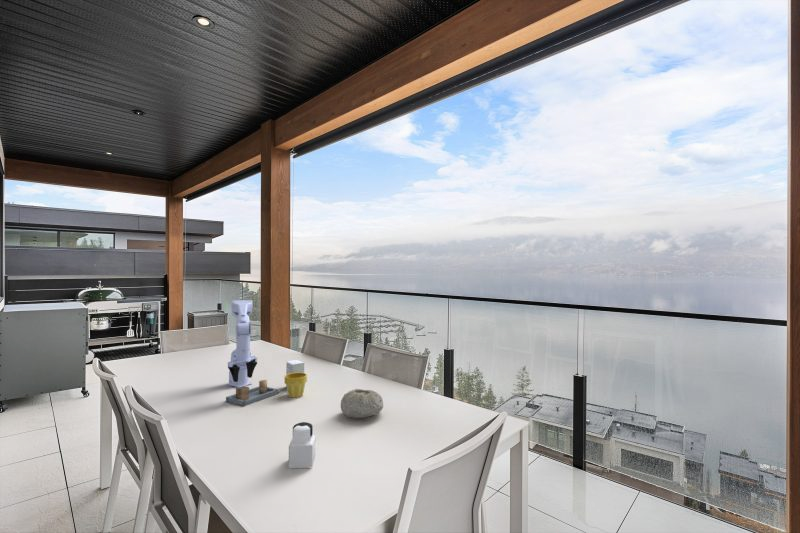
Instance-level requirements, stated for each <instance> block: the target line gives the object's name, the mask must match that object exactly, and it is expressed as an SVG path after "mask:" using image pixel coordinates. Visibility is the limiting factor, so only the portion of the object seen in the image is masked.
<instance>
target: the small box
mask: <svg viewBox="0 0 800 533" xmlns="http://www.w3.org/2000/svg"><path fill="white" fill-rule="evenodd" d="M285 371H286V373H285V375H287V374H290V373H298V372H300V373H305V362H304V361H301V360H299V359H294V360H293V359H292V360H286V370H285ZM285 387H286V388H287V386H286V385H285Z"/></svg>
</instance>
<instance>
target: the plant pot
mask: <svg viewBox="0 0 800 533" xmlns="http://www.w3.org/2000/svg"><path fill="white" fill-rule="evenodd" d="M307 380H308V375H307V373H306V372H304V373H300V372H298V373H290V374H287V375H286V374H285V375H284V384H285V387H286V386H287V387H286V391H287V395H288V397H289V398H293V399H296V398H301V397H303V396H304V391H305V387H306V382H308V381H307Z"/></svg>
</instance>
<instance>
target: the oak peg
mask: <svg viewBox="0 0 800 533" xmlns="http://www.w3.org/2000/svg"><path fill="white" fill-rule="evenodd" d="M258 386H259V393H260V394H264V393H267V387H268V380H267V379H263V380H262V379H261V380H259V381H258Z"/></svg>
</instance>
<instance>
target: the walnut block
mask: <svg viewBox="0 0 800 533" xmlns="http://www.w3.org/2000/svg"><path fill="white" fill-rule="evenodd" d="M249 389H250V386H249V387H248V386H241V387H235V394H236V398H237V399H241V400H244V401H245V400H248V399H249Z"/></svg>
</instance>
